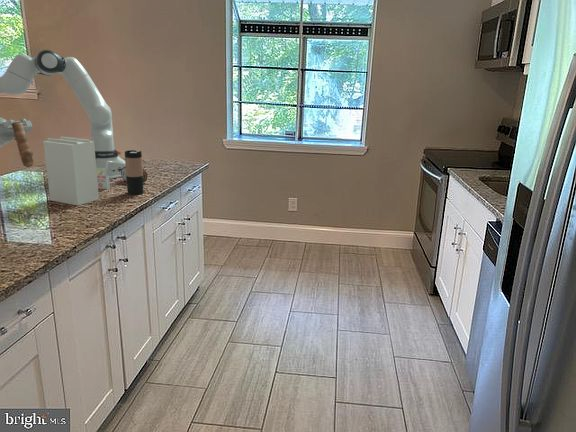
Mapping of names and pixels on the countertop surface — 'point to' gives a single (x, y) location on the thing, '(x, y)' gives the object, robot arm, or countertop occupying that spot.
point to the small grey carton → (103, 178)
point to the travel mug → (134, 172)
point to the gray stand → (71, 170)
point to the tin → (123, 174)
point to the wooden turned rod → (23, 144)
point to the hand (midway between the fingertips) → (18, 120)
